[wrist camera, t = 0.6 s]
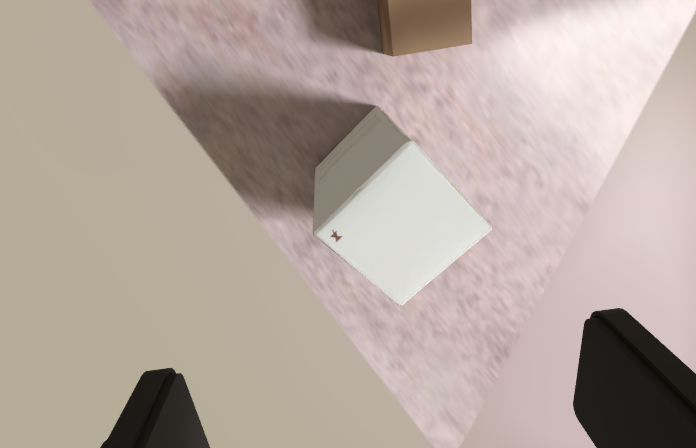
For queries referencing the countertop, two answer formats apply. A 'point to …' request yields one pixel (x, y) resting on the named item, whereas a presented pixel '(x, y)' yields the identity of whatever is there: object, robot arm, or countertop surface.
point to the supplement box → (391, 209)
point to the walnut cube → (423, 25)
